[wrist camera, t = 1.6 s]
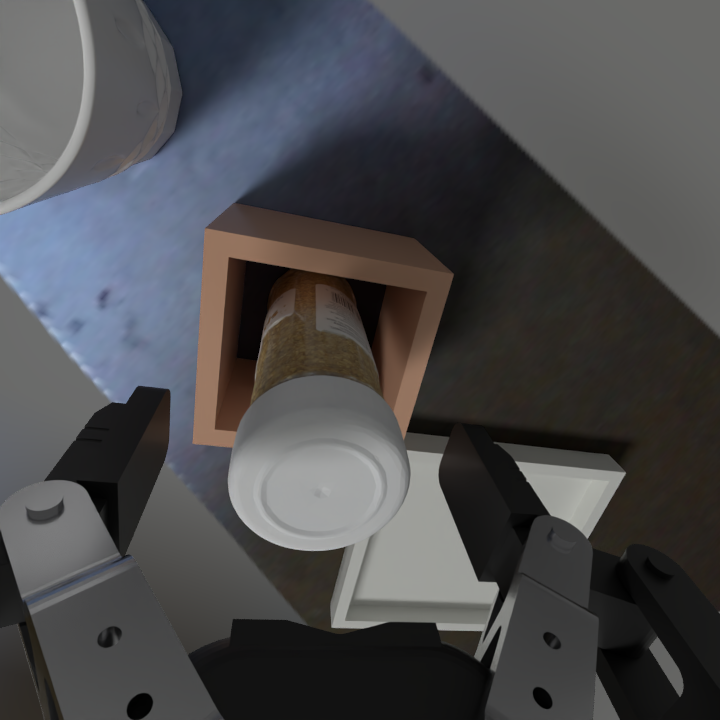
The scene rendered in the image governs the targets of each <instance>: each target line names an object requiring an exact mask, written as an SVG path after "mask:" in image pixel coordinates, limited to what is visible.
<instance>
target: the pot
mask: <svg viewBox="0 0 720 720" xmlns="http://www.w3.org/2000/svg"><path fill="white" fill-rule="evenodd" d="M247 260H248V261H254V262H260V263H265V264H271V265H277V266H283V267H288V268H294V269H300V270H305V271H311V272H317V273H323V274H328V275H334V276H340V277H346V278H351V279H357V280H363V281H369V282H374V283H380V284H386V285H387V286H386V290H385V294H384V299H383V303H382V307H381V311H380V315H379V319H378V324H377V328H376V332H375V336H374V340H373V344H372V349H371V352H372V355H373V358H374V361H375V364H376V368H377V371H378V375H379V384H380V388H381V391H382V394H383V397H384V400H385V401H386V403H387V404H388V405H389V406H390V408H391V409H392V411H393V412H394V414H395V416H396V418H397V421H398V424H399V427H400V430H401V433H402V436H403V440H404V438H405V435H406V431H407V428H408V425H409V421H410V418H411V415H412V411H413V408H414V405H415V402H416V398H417V395H418V392H419V388H420V385H421V382H422V378H423V375H424V372H425V369H426V365H427V362H428V359H429V355H430V352H431V349H432V345H433V342H434V339H435V336H436V332H437V329H438V326H439V322H440V319H441V316H442V312H443V309H444V306H445V303H446V299H447V296H448V293H449V289H450V286H451V283H452V279H453V276H454V274H453V273H452V272H451V271H450V270H449V269H448V268H447V267H446V266H444V265H443V264H442V263H441V262H440V261H439V260H438V259H437V258H436V257H434V256H433V255H432V254H431V253H430V252H429V251H428V250H427V249H426V248H425V247H423V246H422V245H421V244H420V243H419V242H418V241H417V240H416V239H415V238H410V237H405V236H400V235H395V234H390V233H385V232H380V231H375V230H370V229H365V228H360V227H355V226H350V225H345V224H339V223H334V222H329V221H324V220H319V219H314V218H309V217H304V216H299V215H294V214H289V213H284V212H279V211H274V210H269V209H263V208H258V207H253V206H248V205H243V204H238V203H233V204H232V205H231V206H230V207H229V208H227V209H226V210H225V211H224V212H223V213H222V214H221V215H219V216H218V217H217V218H216V219H215V220H214V221H213V222H212V223H210V224H209V225H208V226H207V227H206V228H205V237H204V255H203V272H202V290H201V307H200V325H199V342H198V360H197V377H196V395H195V413H194V430H193V444H201V445H212V446H222V447H233V445H234V441H235V437H236V433H237V429H238V427H239V424H240V421H241V419H242V418H243V416H244V414H245V413H246V411H247V410H248V408H249V407H250V404H251V397H252V393H253V388H254V385H255V372H256V365H257V361H256V360H249V359H241V358H237V353H238V343H239V333H240V323H241V313H242V303H243V293H244V282H245V272H246V262H247Z"/></svg>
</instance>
